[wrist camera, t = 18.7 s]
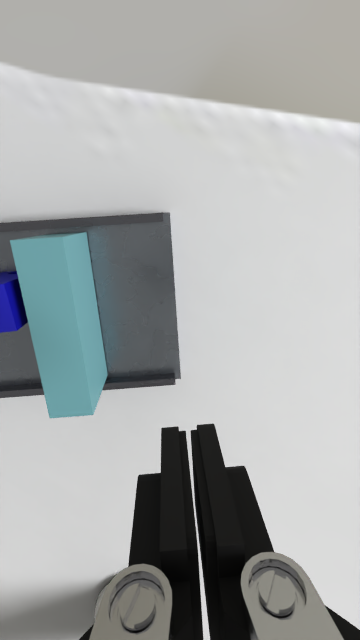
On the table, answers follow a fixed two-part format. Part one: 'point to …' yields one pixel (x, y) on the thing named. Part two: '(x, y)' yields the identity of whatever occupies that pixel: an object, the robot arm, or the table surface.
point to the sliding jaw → (62, 320)
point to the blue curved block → (11, 303)
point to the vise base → (109, 301)
